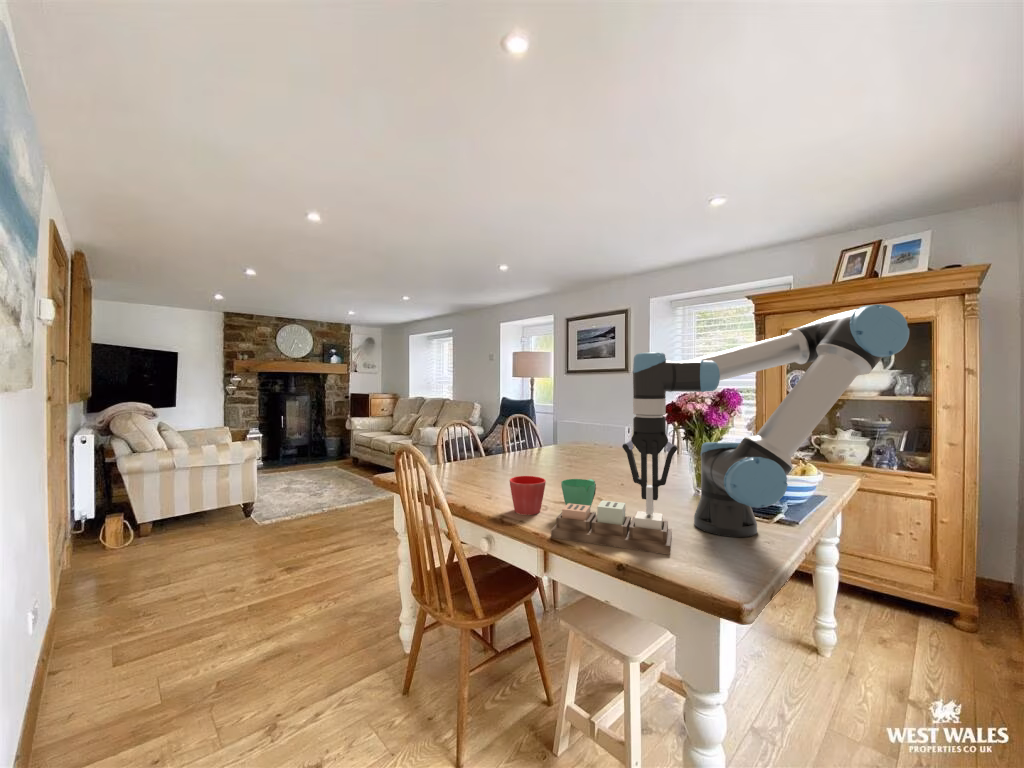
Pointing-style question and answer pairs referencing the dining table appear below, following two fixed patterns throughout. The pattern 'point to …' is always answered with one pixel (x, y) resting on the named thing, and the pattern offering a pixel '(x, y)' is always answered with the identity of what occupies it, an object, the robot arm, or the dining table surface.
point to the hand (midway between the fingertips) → (649, 512)
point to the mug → (578, 491)
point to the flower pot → (527, 494)
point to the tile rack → (614, 534)
